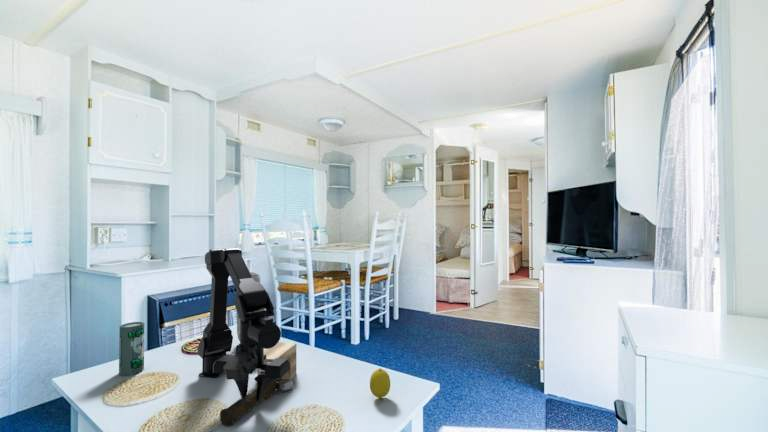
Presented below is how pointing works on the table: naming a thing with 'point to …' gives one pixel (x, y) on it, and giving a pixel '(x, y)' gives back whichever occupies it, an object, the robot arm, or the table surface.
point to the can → (131, 348)
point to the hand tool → (246, 404)
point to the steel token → (284, 386)
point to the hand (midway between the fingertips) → (251, 399)
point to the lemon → (380, 383)
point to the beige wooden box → (283, 357)
